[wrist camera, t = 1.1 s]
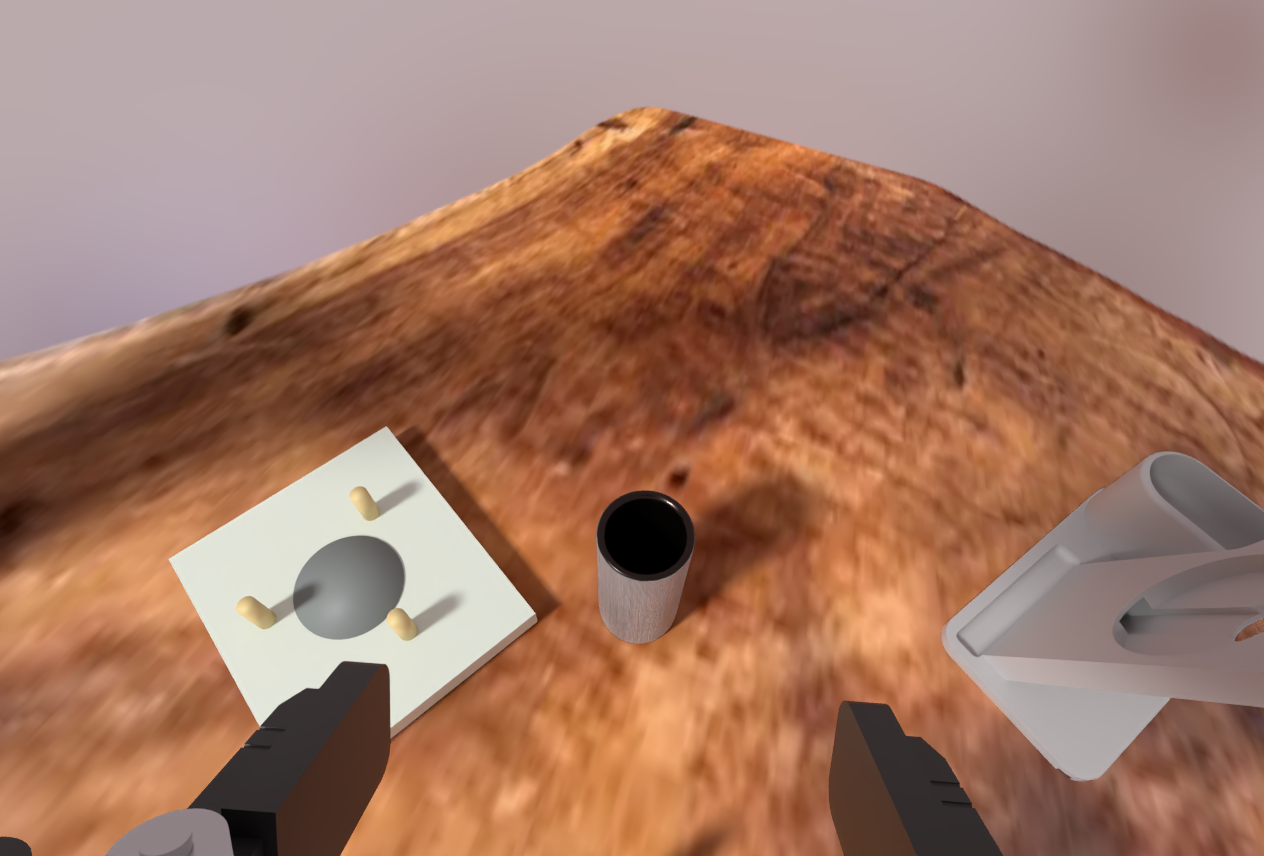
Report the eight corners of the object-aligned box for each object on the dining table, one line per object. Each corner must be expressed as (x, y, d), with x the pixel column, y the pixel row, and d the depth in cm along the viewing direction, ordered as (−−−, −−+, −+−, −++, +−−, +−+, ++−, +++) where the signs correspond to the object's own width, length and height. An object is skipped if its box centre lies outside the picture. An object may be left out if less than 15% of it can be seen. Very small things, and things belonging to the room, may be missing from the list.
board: (182, 568, 41) (143, 541, 37) (392, 438, 46) (375, 404, 43) (311, 802, 35) (278, 795, 31) (537, 621, 40) (531, 598, 36)
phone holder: (1106, 482, 46) (1353, 290, 31) (1253, 605, 41) (1627, 453, 26) (930, 636, 40) (1129, 494, 25) (1081, 797, 36) (1433, 745, 20)
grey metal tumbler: (665, 654, 39) (681, 593, 30) (588, 631, 39) (582, 564, 31) (685, 580, 41) (705, 504, 33) (612, 559, 42) (613, 478, 33)
